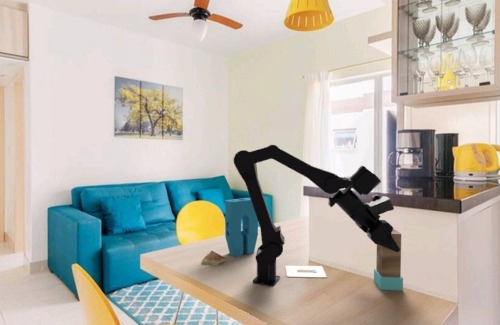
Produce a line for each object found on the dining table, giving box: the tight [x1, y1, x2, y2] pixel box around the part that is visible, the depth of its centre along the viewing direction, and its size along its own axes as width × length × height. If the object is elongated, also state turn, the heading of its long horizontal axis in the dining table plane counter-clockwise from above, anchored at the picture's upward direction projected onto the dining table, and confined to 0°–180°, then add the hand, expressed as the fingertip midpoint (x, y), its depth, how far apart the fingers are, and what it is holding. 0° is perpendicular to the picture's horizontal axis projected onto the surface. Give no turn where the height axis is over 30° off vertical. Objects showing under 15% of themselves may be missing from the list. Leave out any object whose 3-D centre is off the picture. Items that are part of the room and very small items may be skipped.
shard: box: [201, 250, 227, 266], centre depth 113 cm, size 11×8×2 cm
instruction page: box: [284, 265, 328, 279], centre depth 101 cm, size 9×12×1 cm
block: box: [224, 197, 259, 257], centre depth 119 cm, size 12×5×20 cm, turn 122°
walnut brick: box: [375, 229, 402, 277], centre depth 90 cm, size 5×5×12 cm
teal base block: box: [373, 268, 404, 292], centre depth 91 cm, size 6×6×4 cm
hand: (393, 246), depth 90 cm, fingers open, 8 cm apart
